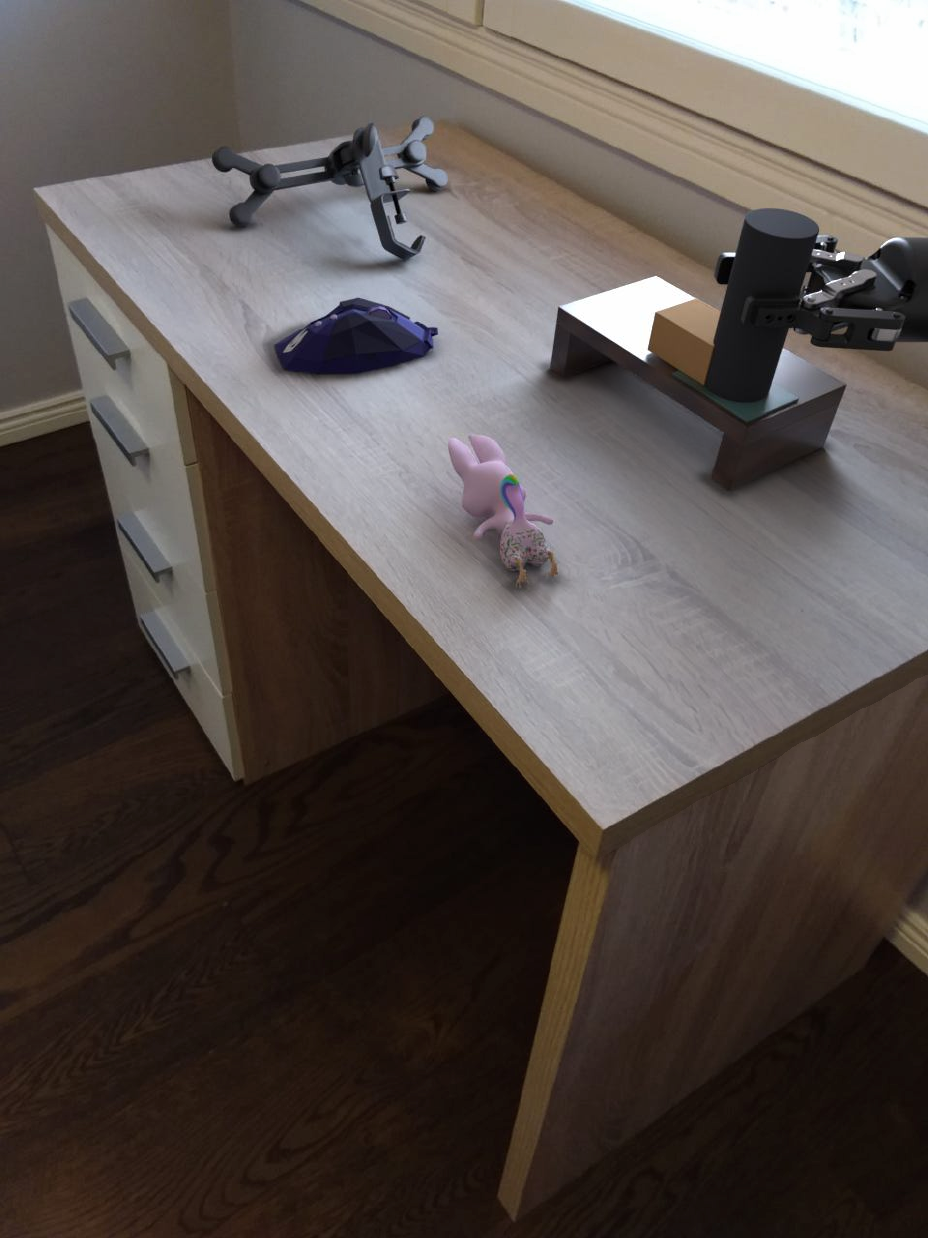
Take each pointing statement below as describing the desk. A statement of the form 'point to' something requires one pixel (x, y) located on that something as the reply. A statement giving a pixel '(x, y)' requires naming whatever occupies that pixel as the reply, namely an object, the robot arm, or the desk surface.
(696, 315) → the cylinder with tan block
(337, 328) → the computer mouse
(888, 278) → the robot arm
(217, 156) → the tablet mount
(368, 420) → the desk surface
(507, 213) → the desk surface
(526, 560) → the rabbit figure
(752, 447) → the low wooden bench
